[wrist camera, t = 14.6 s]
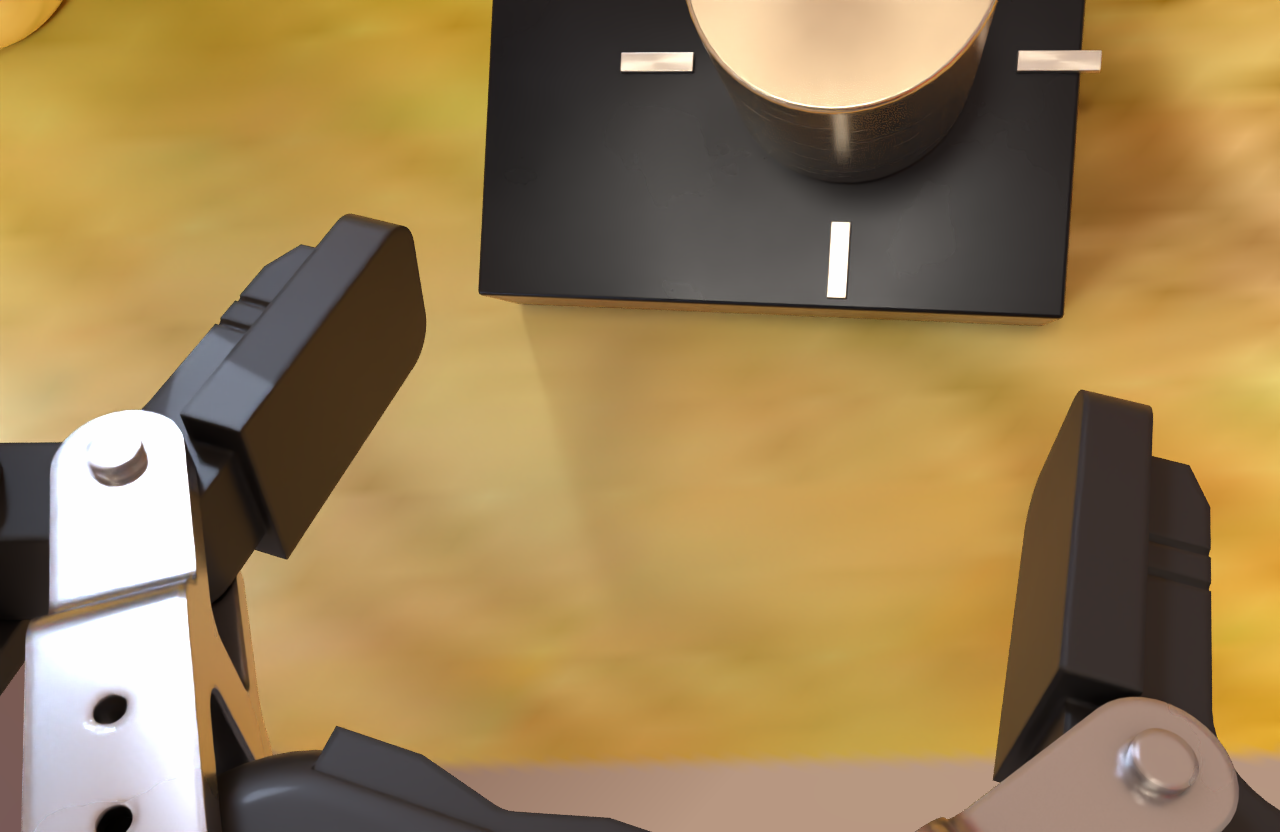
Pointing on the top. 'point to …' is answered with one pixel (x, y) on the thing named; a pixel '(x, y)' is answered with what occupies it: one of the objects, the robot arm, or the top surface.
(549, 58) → the black flat block
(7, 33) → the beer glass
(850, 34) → the dial
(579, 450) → the top surface
